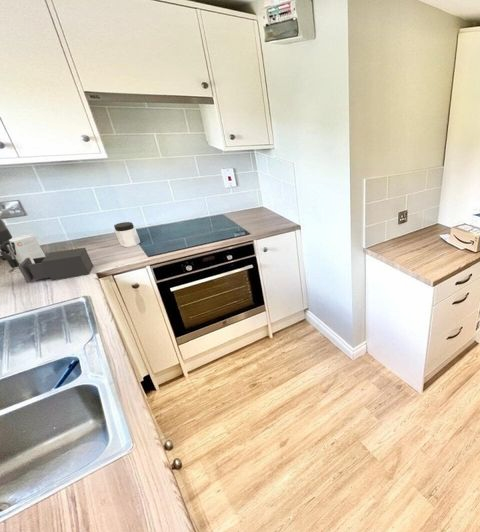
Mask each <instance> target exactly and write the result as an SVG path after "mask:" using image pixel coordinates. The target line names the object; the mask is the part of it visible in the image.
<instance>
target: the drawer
mask: <svg viewBox="0 0 480 532" xmlns="http://www.w3.org/2000/svg"><path fill="white" fill-rule="evenodd" d="M44 258H45V257H40V258H34V259H33V260H34V262H35V263H33V264H32V262H31V260H30V258H26V259H25V260H24V261H23V262H22V263H21V264H19V266H18V267H15V268H11V267H10V268H9V269H8V270H7V271H5V275H6V276H11V274H18V273H21V274H22V276H23V278H24V280H25V281H26V283H27V284H29V283H31V282H32V281H34V280H35V281H37V280H43V279H49V278H50V276H49V274H48V273H47V271H46V269H45V267H44V265H43V263H42V261H43V259H44ZM50 279H51V278H50Z"/></svg>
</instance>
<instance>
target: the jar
mask: <svg viewBox="0 0 480 532" xmlns="http://www.w3.org/2000/svg"><path fill="white" fill-rule="evenodd" d="M113 228H114V232H115V235H116V238H117V240H118V242H119V245H120V246H121V247H124V248H131V247H135V246H136V247H137V246H138V245H139V244H140V243H141V240H140V237H139V234H138V231H137V229H136V227H135V225H134V224H133V222H132V221H131V222H130V221H124V222H119V223H116V224H114V226H113Z"/></svg>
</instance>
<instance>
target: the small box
mask: <svg viewBox="0 0 480 532" xmlns="http://www.w3.org/2000/svg"><path fill="white" fill-rule="evenodd" d="M9 241H10V243H12V242H14V244H15V249H16V254H17V255H15V256H16V260H17V262H18V263H19V265H20V264H21V263H22V262H23V261H24V260H25V259H26V258H30V260H31V262H32V264H35V262H34V260H33V259H34V258H40V257H46V256H47V255H45V253H44V251H43V249H42V247H41V245H40V244H39V242H38V240H37V237H36V236H35V235H33V234H28V233H25V234H21V235H18V236H14V237H12V239H10V240H9Z"/></svg>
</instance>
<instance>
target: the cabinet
mask: <svg viewBox="0 0 480 532" xmlns="http://www.w3.org/2000/svg"><path fill="white" fill-rule="evenodd" d="M45 256H46V257H45V258H44V259H43V261H42V263H43V265H44V267H45V269H46V271H47V273H48V274H49V276H50V280H51V281H52V282H53V281H59V280H66V279H71V278H77V277H83V276H88V275H90V273H91V271H92V270H93V268H94V264H93V262H92V259H91V257H90V255H89V253H88V251H87V248H86V247H80V248H73V249H72V248H70V249H65V250H57V251H51V252H48V253H47V255H45ZM82 275H83V276H82Z"/></svg>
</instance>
